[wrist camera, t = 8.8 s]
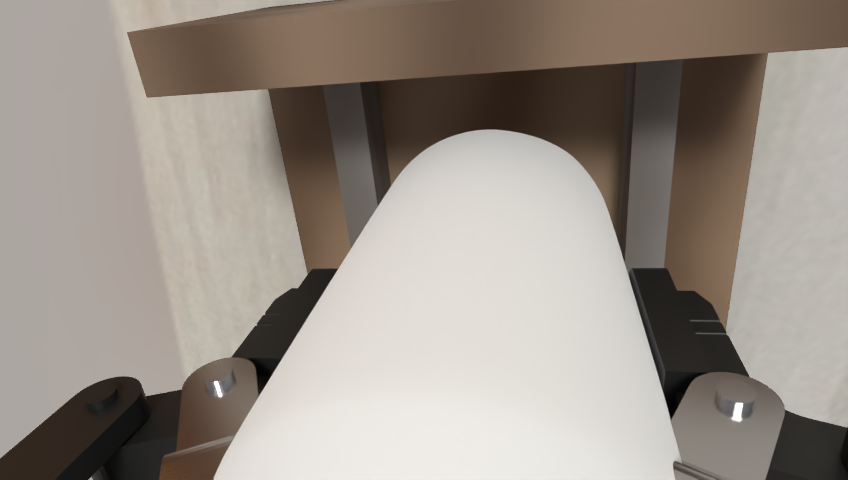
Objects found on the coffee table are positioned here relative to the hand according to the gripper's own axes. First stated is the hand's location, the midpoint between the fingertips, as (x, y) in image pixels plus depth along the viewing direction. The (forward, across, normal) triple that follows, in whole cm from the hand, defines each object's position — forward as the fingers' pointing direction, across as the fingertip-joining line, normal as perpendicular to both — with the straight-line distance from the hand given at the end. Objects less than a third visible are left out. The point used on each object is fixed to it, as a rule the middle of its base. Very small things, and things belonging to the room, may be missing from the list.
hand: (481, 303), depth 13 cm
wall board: (+9, 0, +2) cm, 9 cm away
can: (+4, 0, 0) cm, 4 cm away
